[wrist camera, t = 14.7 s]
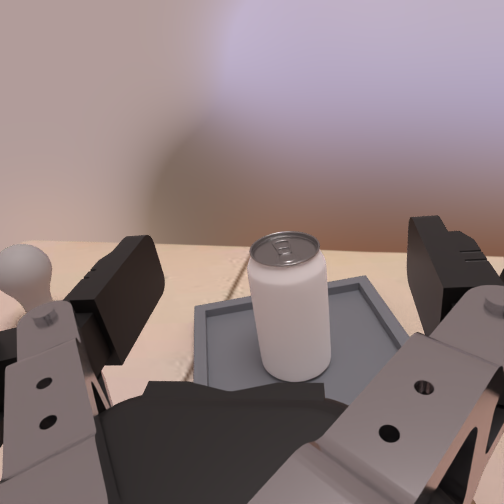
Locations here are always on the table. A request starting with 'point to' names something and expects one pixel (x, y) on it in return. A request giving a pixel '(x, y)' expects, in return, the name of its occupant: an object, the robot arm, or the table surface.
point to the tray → (341, 338)
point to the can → (290, 305)
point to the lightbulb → (26, 275)
